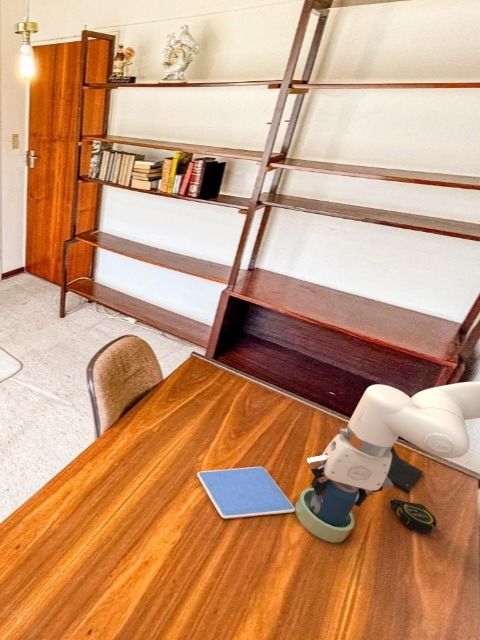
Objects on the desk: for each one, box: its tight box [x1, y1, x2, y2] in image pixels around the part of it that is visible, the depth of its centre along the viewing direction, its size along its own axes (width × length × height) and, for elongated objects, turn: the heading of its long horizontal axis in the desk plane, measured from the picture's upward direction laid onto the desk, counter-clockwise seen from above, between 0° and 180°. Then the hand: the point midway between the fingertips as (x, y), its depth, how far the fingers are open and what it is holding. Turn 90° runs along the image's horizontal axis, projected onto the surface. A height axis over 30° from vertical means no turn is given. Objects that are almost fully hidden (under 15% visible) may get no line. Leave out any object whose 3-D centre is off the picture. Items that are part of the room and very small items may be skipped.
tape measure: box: [389, 498, 438, 534], centre depth 94 cm, size 7×7×4 cm
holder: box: [294, 487, 355, 544], centre depth 93 cm, size 10×10×4 cm
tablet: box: [196, 466, 295, 520], centre depth 99 cm, size 19×13×1 cm, turn 97°
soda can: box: [309, 479, 359, 527], centre depth 90 cm, size 7×7×12 cm
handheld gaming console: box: [387, 446, 423, 493], centre depth 106 cm, size 12×7×10 cm
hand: (335, 494), depth 90 cm, fingers closed on soda can, 7 cm apart
